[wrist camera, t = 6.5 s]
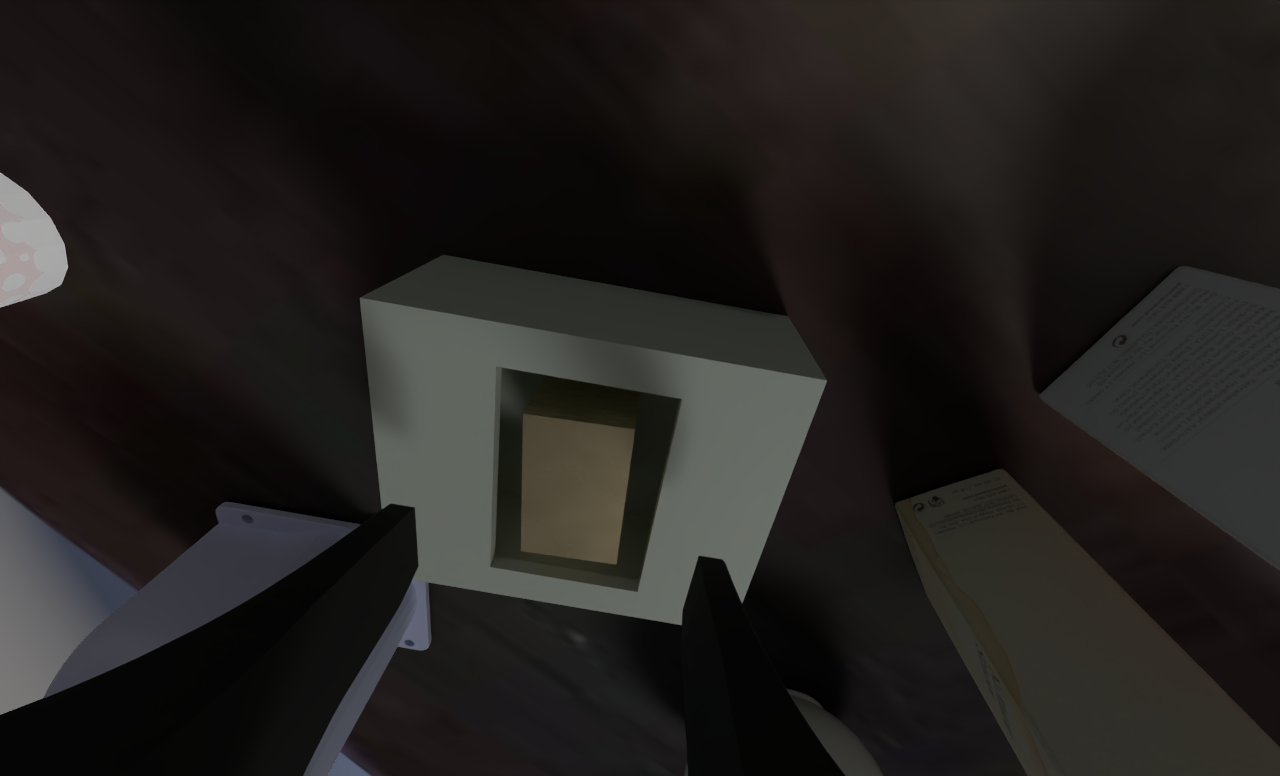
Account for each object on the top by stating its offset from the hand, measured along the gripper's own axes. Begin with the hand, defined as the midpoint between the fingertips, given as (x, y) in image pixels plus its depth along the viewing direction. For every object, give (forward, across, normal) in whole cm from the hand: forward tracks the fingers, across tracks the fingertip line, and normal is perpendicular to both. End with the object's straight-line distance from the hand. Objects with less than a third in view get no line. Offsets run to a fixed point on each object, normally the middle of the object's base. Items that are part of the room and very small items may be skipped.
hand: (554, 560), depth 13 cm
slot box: (+8, 0, 0) cm, 8 cm away
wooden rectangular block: (+7, 0, 0) cm, 7 cm away
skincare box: (+8, -16, +3) cm, 18 cm away
